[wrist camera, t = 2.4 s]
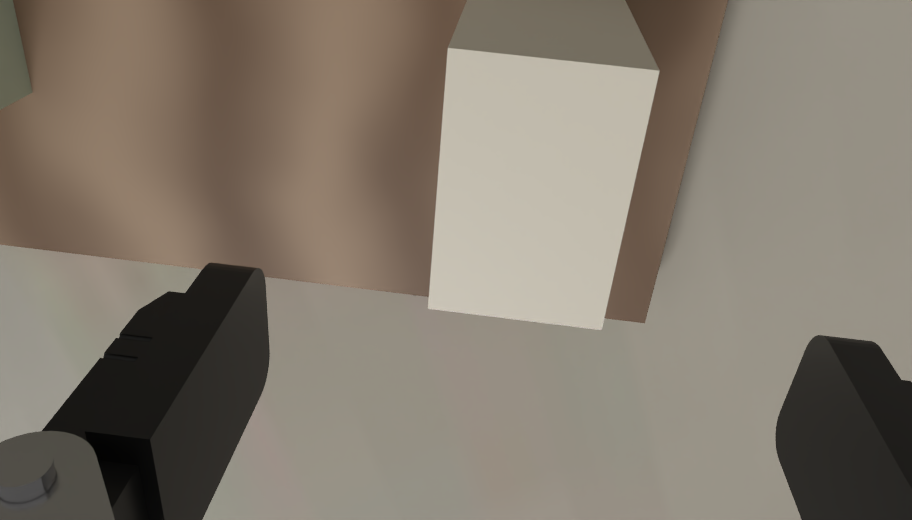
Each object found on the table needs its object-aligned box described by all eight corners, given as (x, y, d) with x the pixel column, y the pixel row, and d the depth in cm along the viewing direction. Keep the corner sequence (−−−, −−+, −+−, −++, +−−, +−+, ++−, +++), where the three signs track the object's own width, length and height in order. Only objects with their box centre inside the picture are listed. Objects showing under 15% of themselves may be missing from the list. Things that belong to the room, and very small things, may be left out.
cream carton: (590, 185, 24) (610, 331, 17) (459, 170, 24) (427, 308, 17) (627, -10, 21) (670, 71, 14) (477, -26, 21) (447, 47, 14)
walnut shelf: (765, -222, 20) (806, -231, 17) (638, 292, 28) (650, 350, 25) (-245, -315, 21) (-381, -339, 18) (-80, 206, 29) (-153, 251, 26)
